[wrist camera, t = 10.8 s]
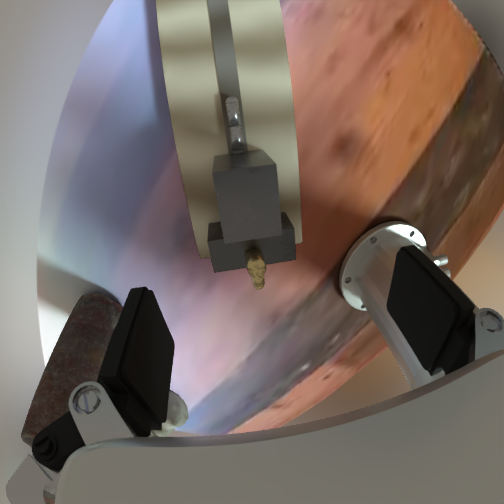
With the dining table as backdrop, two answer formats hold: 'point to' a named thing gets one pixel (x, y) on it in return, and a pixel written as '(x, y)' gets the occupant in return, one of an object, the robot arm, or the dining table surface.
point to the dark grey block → (245, 187)
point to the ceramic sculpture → (172, 416)
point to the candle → (72, 360)
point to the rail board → (220, 88)
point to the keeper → (251, 251)
